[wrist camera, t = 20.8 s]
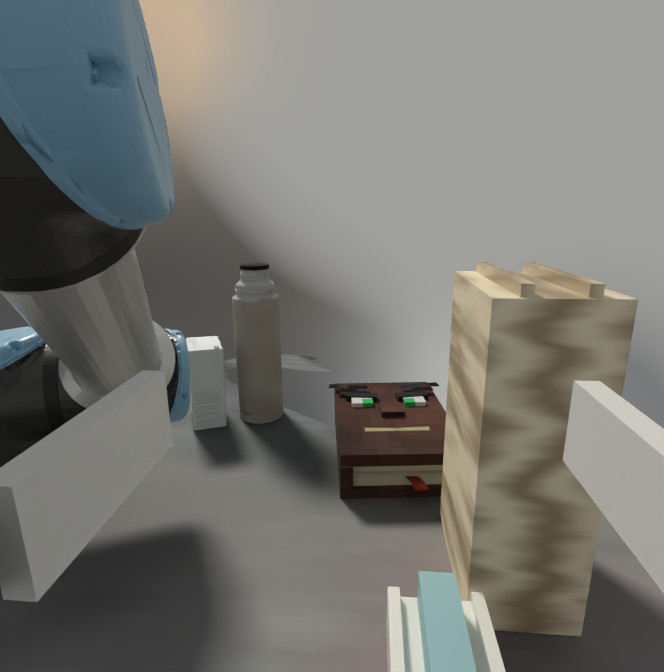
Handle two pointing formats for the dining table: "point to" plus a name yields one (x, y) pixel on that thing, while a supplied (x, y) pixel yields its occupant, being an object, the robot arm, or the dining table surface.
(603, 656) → the dining table surface
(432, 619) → the bar
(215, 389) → the skincare box
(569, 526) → the pedestal
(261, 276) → the thermos bottle
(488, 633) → the dock
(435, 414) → the decorative book
